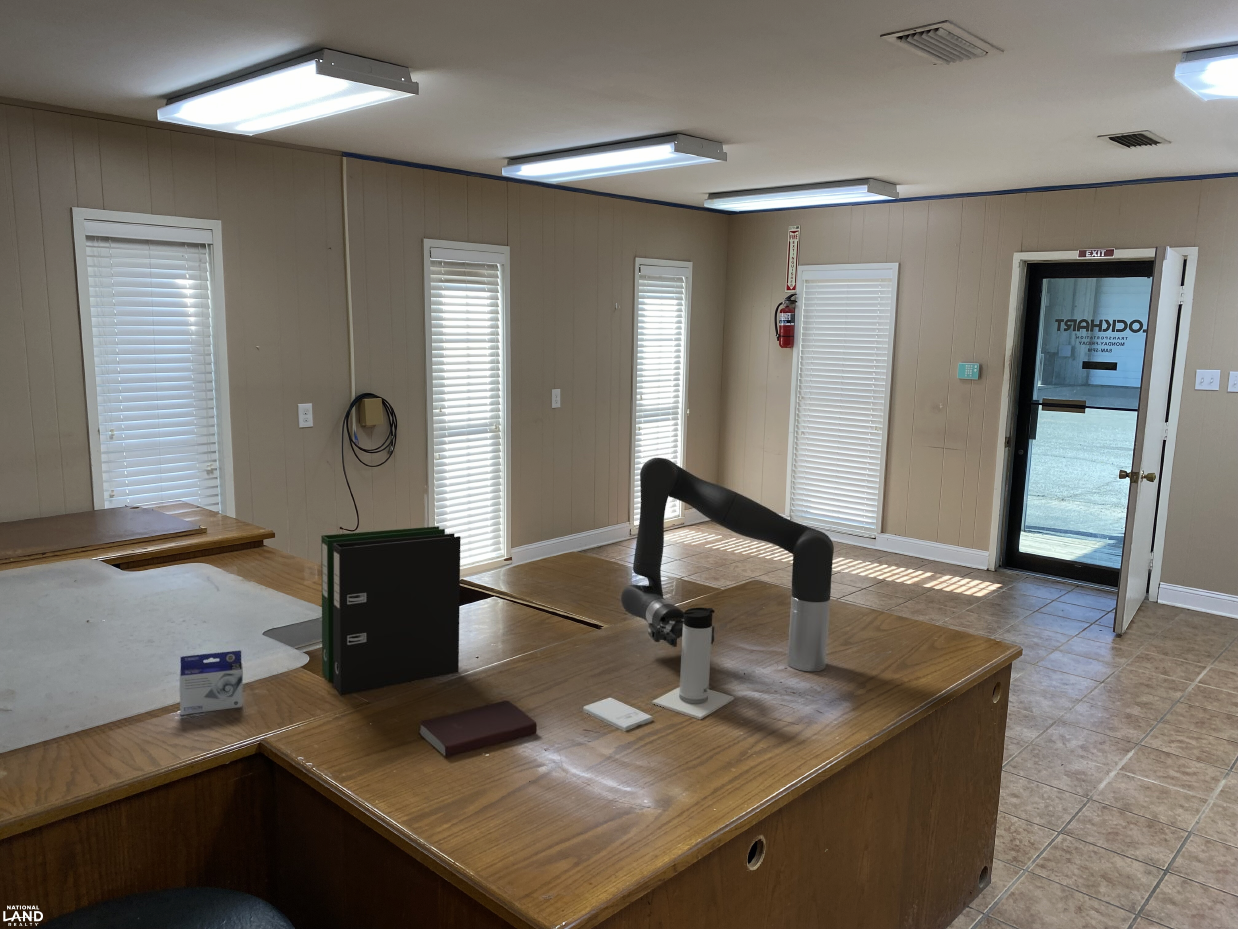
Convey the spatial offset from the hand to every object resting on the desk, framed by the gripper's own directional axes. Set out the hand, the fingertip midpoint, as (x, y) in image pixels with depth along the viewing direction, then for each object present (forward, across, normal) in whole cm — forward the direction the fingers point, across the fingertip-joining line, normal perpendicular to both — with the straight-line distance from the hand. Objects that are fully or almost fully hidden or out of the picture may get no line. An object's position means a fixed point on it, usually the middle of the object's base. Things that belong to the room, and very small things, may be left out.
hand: (693, 641), depth 185 cm
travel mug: (+1, 0, +13) cm, 13 cm away
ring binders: (-29, -61, +13) cm, 69 cm away
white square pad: (+1, 0, +13) cm, 13 cm away
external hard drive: (+4, -18, +14) cm, 23 cm away
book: (+6, -48, +14) cm, 50 cm away
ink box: (-18, -97, +13) cm, 100 cm away
